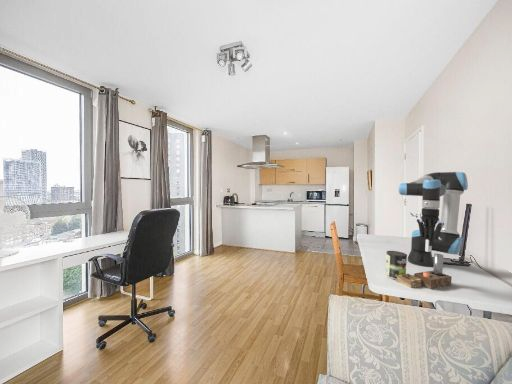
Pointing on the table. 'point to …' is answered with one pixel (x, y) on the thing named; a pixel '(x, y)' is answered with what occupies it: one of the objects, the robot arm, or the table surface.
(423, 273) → the button
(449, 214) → the robot arm
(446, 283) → the socket block
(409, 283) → the open wooden tray
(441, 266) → the peg
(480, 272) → the table surface
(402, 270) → the coffee can
